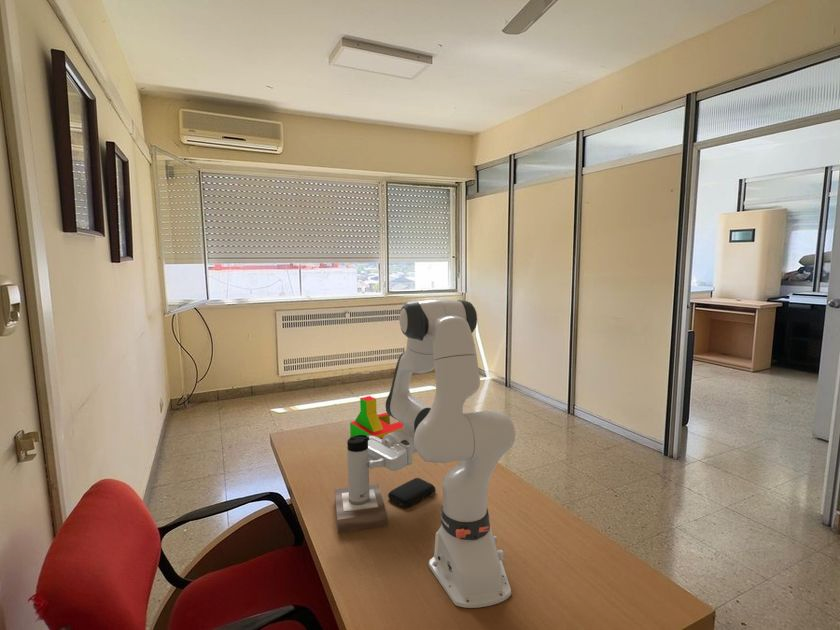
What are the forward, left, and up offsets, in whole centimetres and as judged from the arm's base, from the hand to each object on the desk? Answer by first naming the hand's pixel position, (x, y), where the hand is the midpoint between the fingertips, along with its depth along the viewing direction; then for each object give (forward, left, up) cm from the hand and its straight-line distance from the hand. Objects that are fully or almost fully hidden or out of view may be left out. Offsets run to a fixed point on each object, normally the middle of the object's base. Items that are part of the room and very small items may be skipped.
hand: (359, 460), depth 132 cm
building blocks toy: (+51, -15, -17) cm, 56 cm away
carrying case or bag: (+5, -18, -17) cm, 25 cm away
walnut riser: (0, 0, -17) cm, 17 cm away
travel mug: (0, 0, -13) cm, 13 cm away
